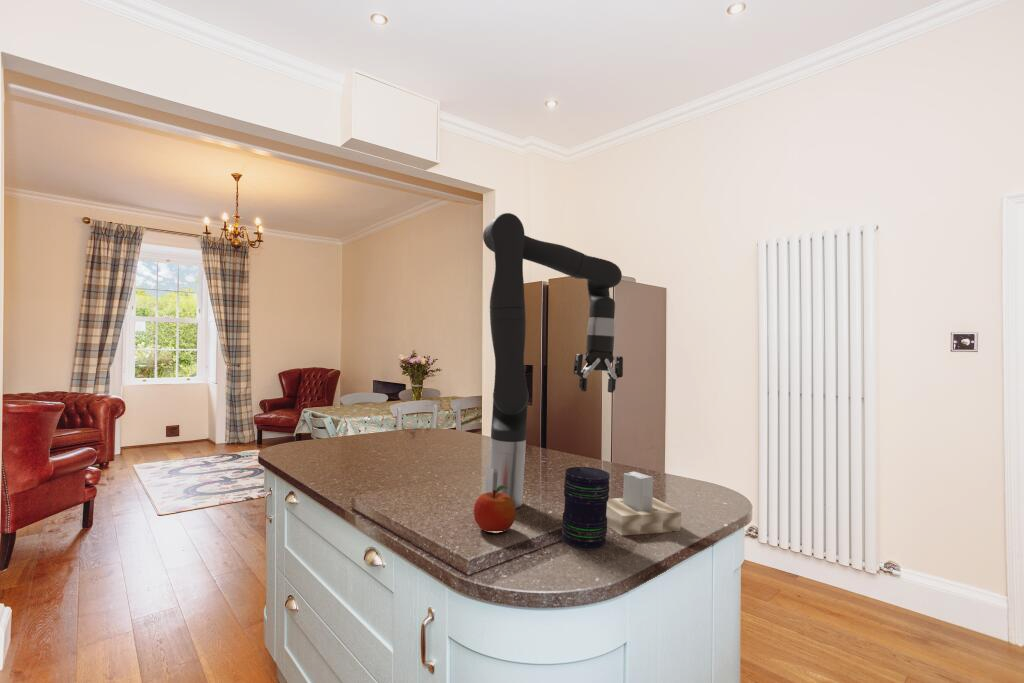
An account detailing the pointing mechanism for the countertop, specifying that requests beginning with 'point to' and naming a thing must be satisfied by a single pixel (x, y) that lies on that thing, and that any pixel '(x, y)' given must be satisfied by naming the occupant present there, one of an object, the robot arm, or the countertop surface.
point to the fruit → (494, 510)
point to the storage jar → (585, 507)
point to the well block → (642, 518)
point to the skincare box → (638, 491)
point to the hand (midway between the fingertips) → (597, 391)
